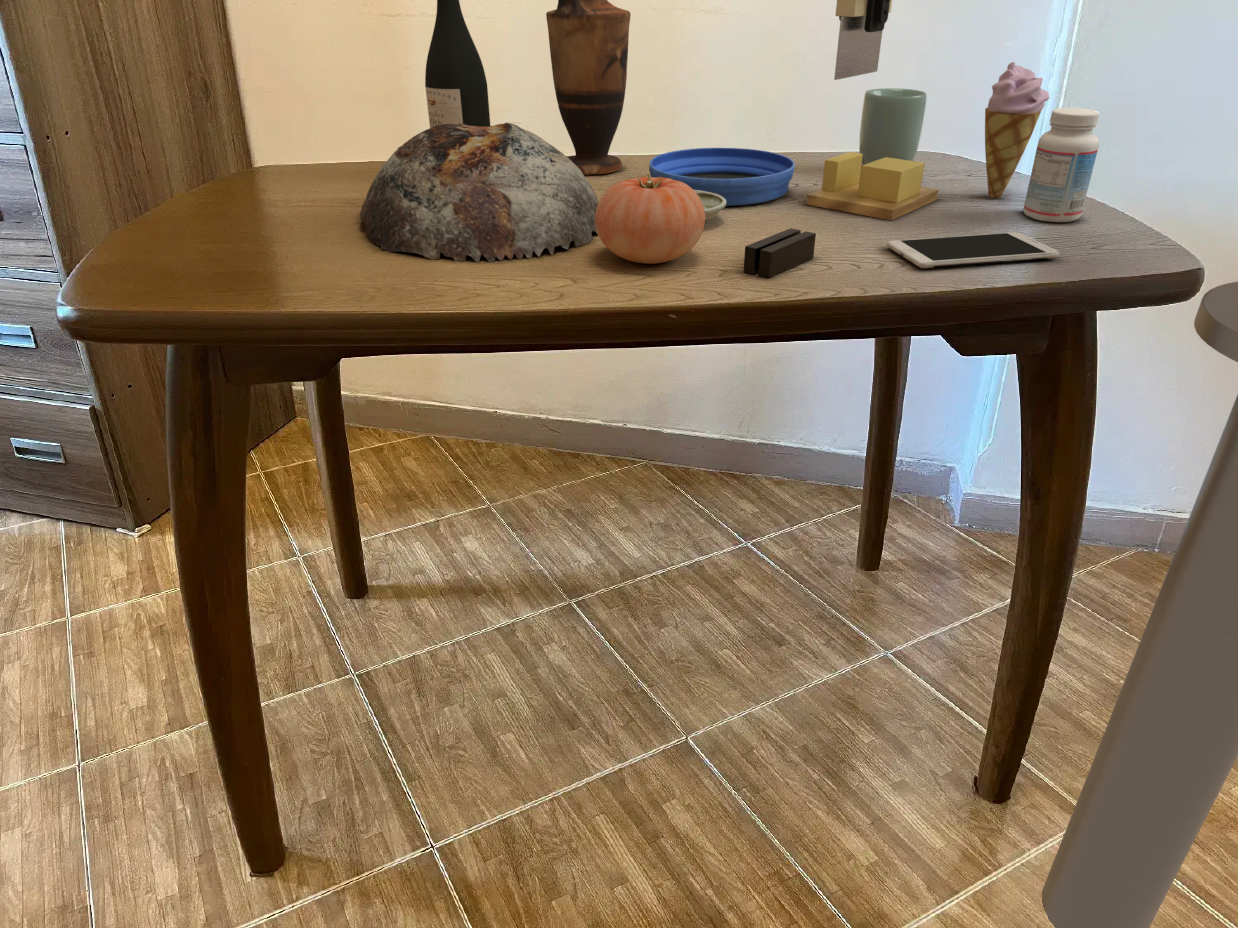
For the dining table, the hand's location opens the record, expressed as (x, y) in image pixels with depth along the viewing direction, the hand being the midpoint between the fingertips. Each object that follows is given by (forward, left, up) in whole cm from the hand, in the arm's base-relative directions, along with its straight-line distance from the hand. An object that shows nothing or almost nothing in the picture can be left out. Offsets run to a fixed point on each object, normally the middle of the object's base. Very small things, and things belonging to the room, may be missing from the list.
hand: (861, 29), depth 94 cm
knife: (0, 0, -5) cm, 5 cm away
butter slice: (+3, -4, -18) cm, 18 cm away
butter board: (-2, -4, -19) cm, 20 cm away
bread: (+29, +31, -19) cm, 46 cm away
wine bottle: (+48, +18, -19) cm, 54 cm away
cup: (+5, -20, -19) cm, 28 cm away
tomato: (+5, +30, -19) cm, 36 cm away
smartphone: (-19, +8, -19) cm, 28 cm away
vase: (+37, +4, -19) cm, 42 cm away
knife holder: (-6, +23, -19) cm, 31 cm away
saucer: (+11, +17, -19) cm, 28 cm away
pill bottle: (-20, -11, -19) cm, 30 cm away
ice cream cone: (-12, -16, -19) cm, 28 cm away
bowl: (+16, +3, -19) cm, 25 cm away
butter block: (-4, -4, -18) cm, 19 cm away
